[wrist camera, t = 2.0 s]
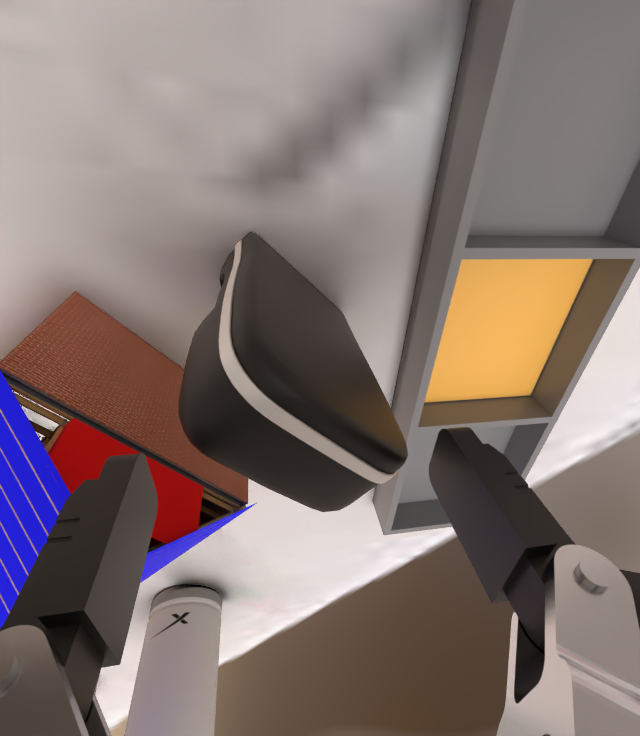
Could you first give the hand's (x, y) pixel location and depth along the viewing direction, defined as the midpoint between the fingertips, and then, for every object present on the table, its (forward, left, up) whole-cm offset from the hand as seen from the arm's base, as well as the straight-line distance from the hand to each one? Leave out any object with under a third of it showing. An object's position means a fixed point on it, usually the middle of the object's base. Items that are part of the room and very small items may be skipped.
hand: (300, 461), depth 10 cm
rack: (+2, +13, -11) cm, 17 cm away
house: (+10, -13, -11) cm, 20 cm away
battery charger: (0, 0, -11) cm, 11 cm away
